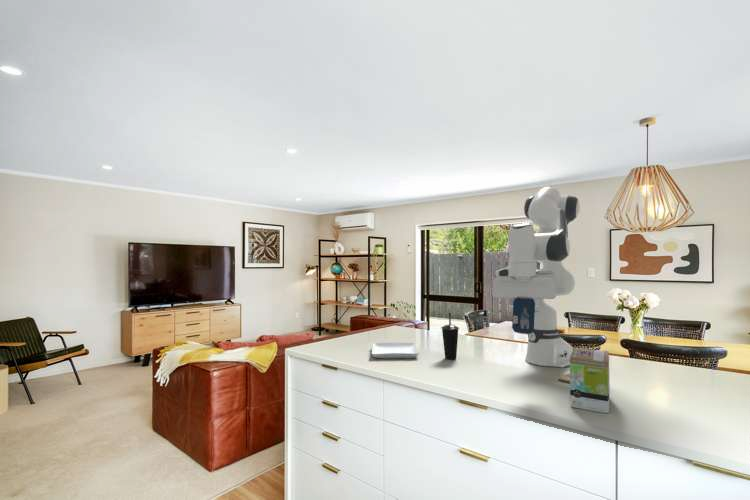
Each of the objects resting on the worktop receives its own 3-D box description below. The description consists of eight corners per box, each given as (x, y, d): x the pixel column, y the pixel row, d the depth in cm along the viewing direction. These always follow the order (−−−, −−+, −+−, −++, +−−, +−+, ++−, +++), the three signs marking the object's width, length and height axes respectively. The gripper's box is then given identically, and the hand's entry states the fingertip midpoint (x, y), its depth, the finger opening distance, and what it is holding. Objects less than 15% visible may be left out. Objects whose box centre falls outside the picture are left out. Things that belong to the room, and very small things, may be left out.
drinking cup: (462, 357, 168) (461, 312, 169) (455, 361, 162) (454, 314, 162) (445, 355, 172) (444, 311, 173) (439, 359, 166) (438, 313, 166)
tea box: (610, 414, 105) (608, 360, 105) (569, 407, 110) (568, 356, 110) (610, 397, 117) (608, 349, 118) (574, 392, 123) (572, 346, 123)
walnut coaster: (569, 374, 141) (569, 372, 141) (599, 380, 133) (599, 378, 133) (558, 380, 134) (558, 378, 134) (588, 387, 127) (588, 385, 127)
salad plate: (419, 360, 166) (419, 352, 166) (371, 360, 166) (371, 353, 166) (415, 349, 187) (415, 342, 187) (372, 349, 187) (372, 342, 188)
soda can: (523, 329, 133) (525, 295, 133) (538, 334, 126) (540, 298, 126) (507, 330, 131) (509, 295, 131) (521, 335, 124) (523, 298, 124)
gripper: (556, 270, 127) (557, 311, 127) (492, 270, 136) (494, 309, 135) (556, 271, 122) (558, 314, 121) (490, 271, 130) (492, 312, 130)
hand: (524, 311), depth 128 cm, fingers closed on soda can, 7 cm apart
